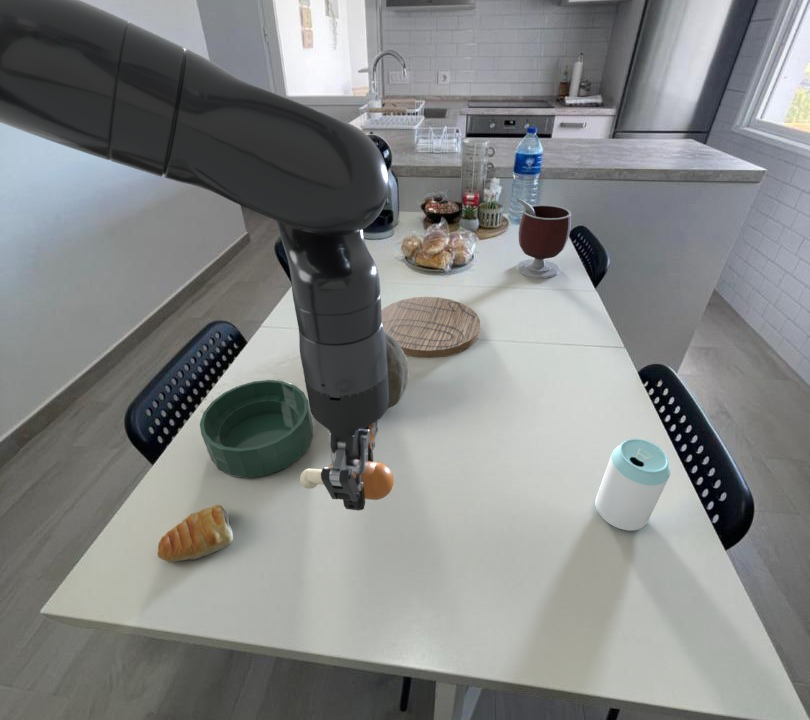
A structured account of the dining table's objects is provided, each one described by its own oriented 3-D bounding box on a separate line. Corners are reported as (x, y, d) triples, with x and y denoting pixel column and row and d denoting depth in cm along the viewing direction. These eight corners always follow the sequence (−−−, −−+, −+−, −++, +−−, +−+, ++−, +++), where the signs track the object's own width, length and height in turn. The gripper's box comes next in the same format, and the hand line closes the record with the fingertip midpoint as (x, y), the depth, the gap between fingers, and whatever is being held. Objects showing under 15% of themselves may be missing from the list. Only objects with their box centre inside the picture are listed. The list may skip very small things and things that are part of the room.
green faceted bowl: (241, 498, 68) (231, 469, 64) (194, 440, 78) (182, 412, 74) (332, 439, 77) (328, 411, 74) (279, 395, 87) (273, 368, 84)
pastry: (164, 579, 57) (154, 562, 55) (158, 539, 62) (148, 522, 60) (238, 543, 61) (231, 527, 59) (226, 508, 66) (219, 492, 64)
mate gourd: (563, 263, 136) (577, 196, 125) (559, 282, 126) (573, 210, 114) (512, 257, 141) (521, 191, 130) (504, 274, 131) (512, 205, 119)
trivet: (392, 298, 120) (392, 292, 119) (486, 309, 114) (487, 302, 113) (360, 349, 100) (359, 341, 99) (471, 365, 94) (471, 357, 93)
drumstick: (296, 498, 50) (289, 475, 47) (307, 469, 53) (302, 446, 50) (391, 509, 48) (389, 486, 46) (397, 479, 51) (395, 456, 49)
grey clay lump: (418, 386, 89) (418, 320, 80) (395, 434, 78) (392, 365, 69) (353, 374, 93) (346, 310, 84) (322, 419, 82) (311, 351, 73)
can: (650, 538, 61) (680, 480, 54) (595, 526, 62) (617, 469, 56) (642, 497, 66) (669, 440, 59) (592, 487, 68) (612, 430, 61)
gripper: (328, 323, 46) (343, 441, 56) (276, 415, 35) (307, 542, 45) (399, 328, 45) (402, 446, 55) (369, 424, 34) (380, 552, 44)
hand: (359, 489), depth 50 cm, fingers closed on drumstick, 4 cm apart
